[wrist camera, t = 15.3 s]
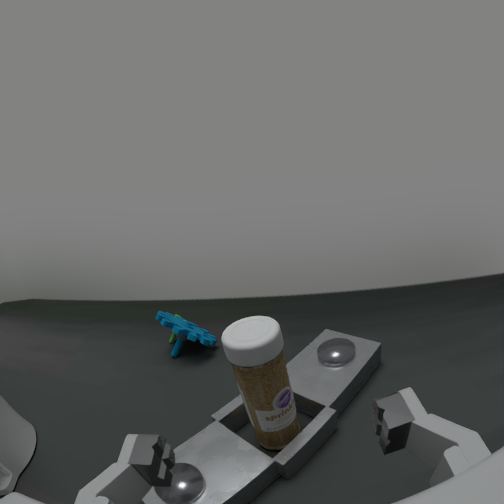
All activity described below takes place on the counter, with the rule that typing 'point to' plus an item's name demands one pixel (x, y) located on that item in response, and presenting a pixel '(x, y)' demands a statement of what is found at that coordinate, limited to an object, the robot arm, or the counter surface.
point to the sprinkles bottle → (263, 379)
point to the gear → (184, 331)
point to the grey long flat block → (235, 416)
